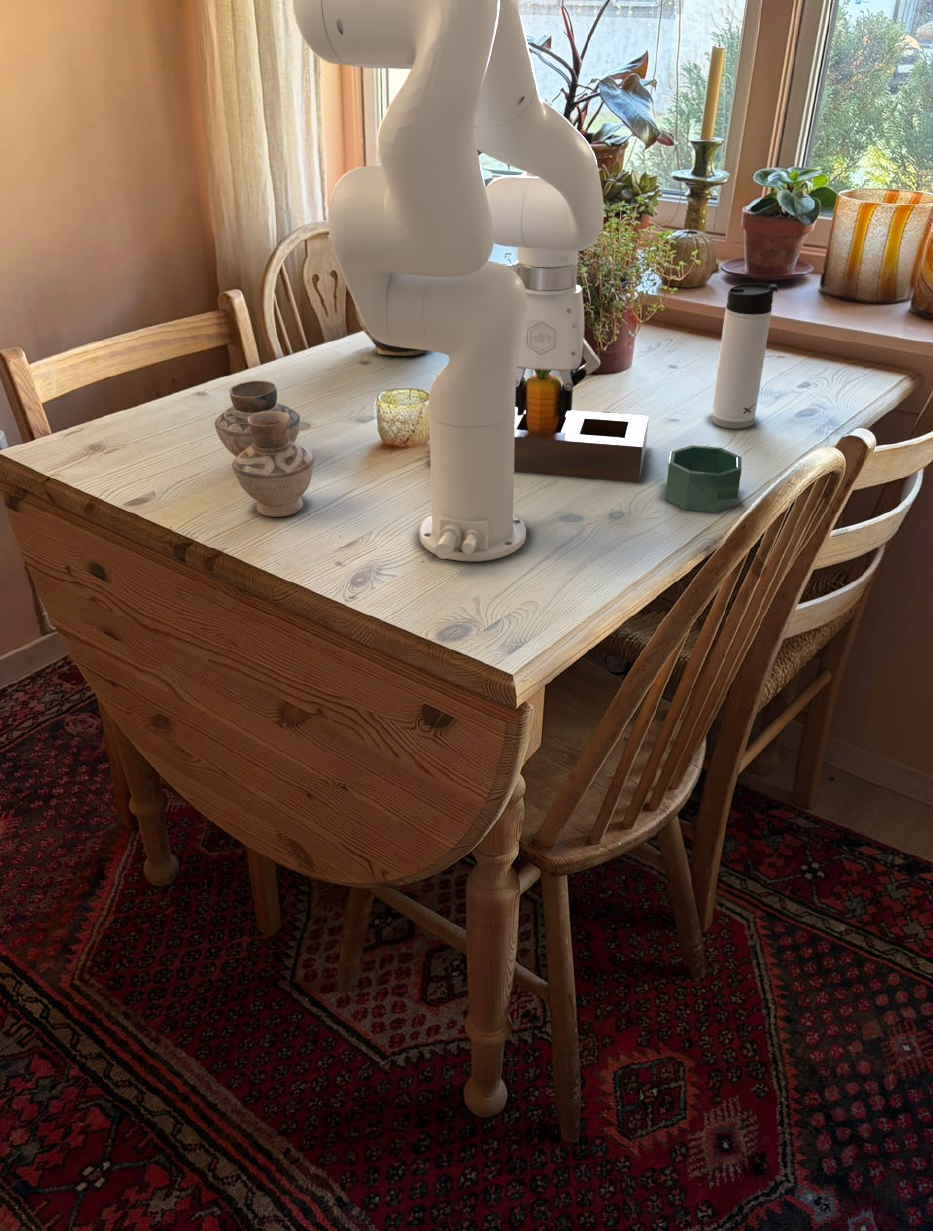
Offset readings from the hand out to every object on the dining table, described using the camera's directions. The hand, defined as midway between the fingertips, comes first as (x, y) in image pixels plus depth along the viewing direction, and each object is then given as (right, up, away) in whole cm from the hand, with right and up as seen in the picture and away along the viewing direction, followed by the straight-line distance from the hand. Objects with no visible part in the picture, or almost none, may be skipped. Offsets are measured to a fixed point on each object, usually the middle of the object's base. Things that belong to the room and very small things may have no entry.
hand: (542, 412), depth 134 cm
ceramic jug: (-23, +20, +44) cm, 54 cm away
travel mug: (+30, +1, +14) cm, 33 cm away
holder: (+20, -12, -8) cm, 24 cm away
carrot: (0, -6, +4) cm, 7 cm away
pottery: (-36, -10, -3) cm, 38 cm away
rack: (0, -6, +3) cm, 6 cm away
